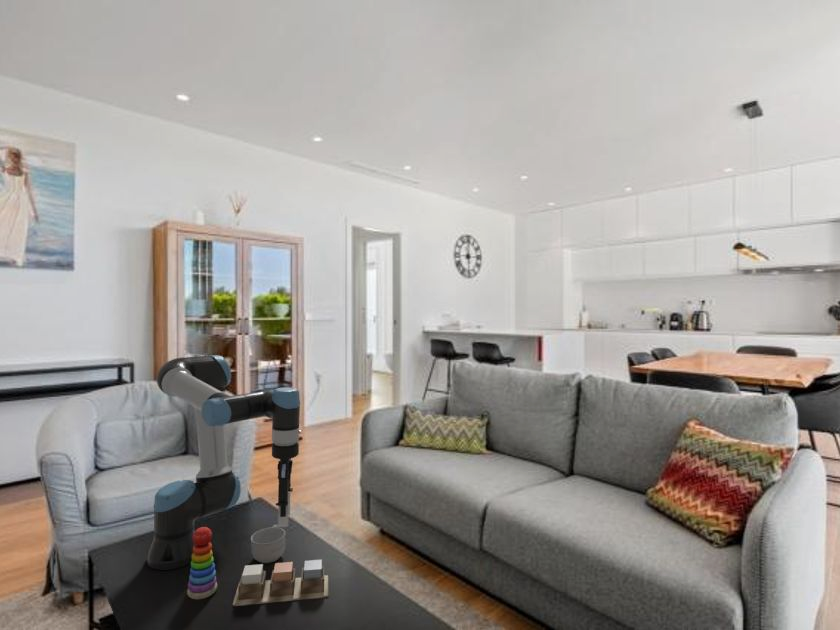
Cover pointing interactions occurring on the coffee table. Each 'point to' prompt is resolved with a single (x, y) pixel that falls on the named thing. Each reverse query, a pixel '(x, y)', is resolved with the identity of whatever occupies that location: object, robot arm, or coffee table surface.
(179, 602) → the coffee table surface
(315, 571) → the button slate
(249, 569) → the button cream
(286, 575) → the button terracotta
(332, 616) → the coffee table surface
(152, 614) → the coffee table surface
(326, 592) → the button board
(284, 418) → the robot arm
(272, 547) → the teacup
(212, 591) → the stacking toy
